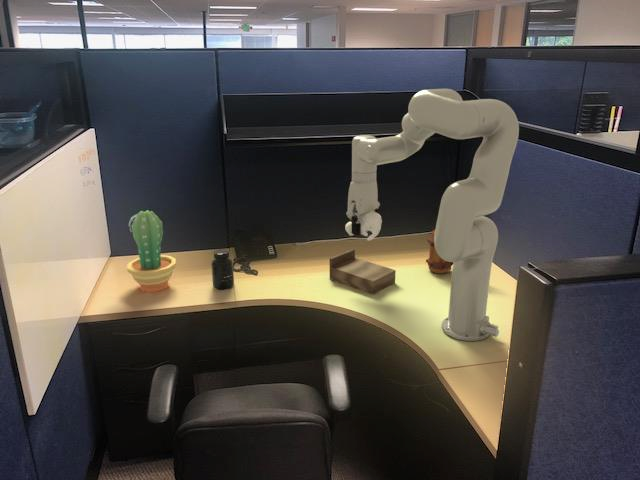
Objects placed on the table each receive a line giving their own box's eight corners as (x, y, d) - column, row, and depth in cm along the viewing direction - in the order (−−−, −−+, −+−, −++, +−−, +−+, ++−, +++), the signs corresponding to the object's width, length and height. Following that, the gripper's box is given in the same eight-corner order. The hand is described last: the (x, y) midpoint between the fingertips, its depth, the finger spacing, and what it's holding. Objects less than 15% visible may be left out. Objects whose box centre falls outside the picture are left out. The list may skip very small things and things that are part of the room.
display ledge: (395, 282, 168) (396, 261, 166) (372, 294, 160) (373, 272, 158) (352, 268, 180) (352, 248, 178) (329, 279, 172) (329, 258, 169)
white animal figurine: (376, 215, 157) (340, 214, 162) (378, 241, 159) (342, 240, 164) (383, 209, 162) (348, 209, 167) (384, 235, 164) (350, 234, 170)
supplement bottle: (229, 291, 163) (226, 256, 159) (209, 289, 165) (206, 254, 161) (237, 282, 170) (235, 248, 166) (218, 281, 171) (215, 247, 167)
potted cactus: (172, 273, 178) (164, 203, 169) (184, 289, 165) (176, 214, 157) (125, 282, 171) (115, 209, 162) (134, 300, 158) (123, 222, 150)
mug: (422, 272, 176) (424, 231, 171) (428, 264, 183) (431, 224, 178) (465, 280, 170) (469, 237, 165) (470, 271, 177) (474, 230, 172)
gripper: (371, 170, 167) (370, 223, 173) (336, 179, 155) (336, 236, 161) (390, 173, 162) (388, 228, 168) (355, 183, 150) (355, 241, 156)
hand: (363, 231), depth 164 cm, fingers closed on white animal figurine, 6 cm apart
